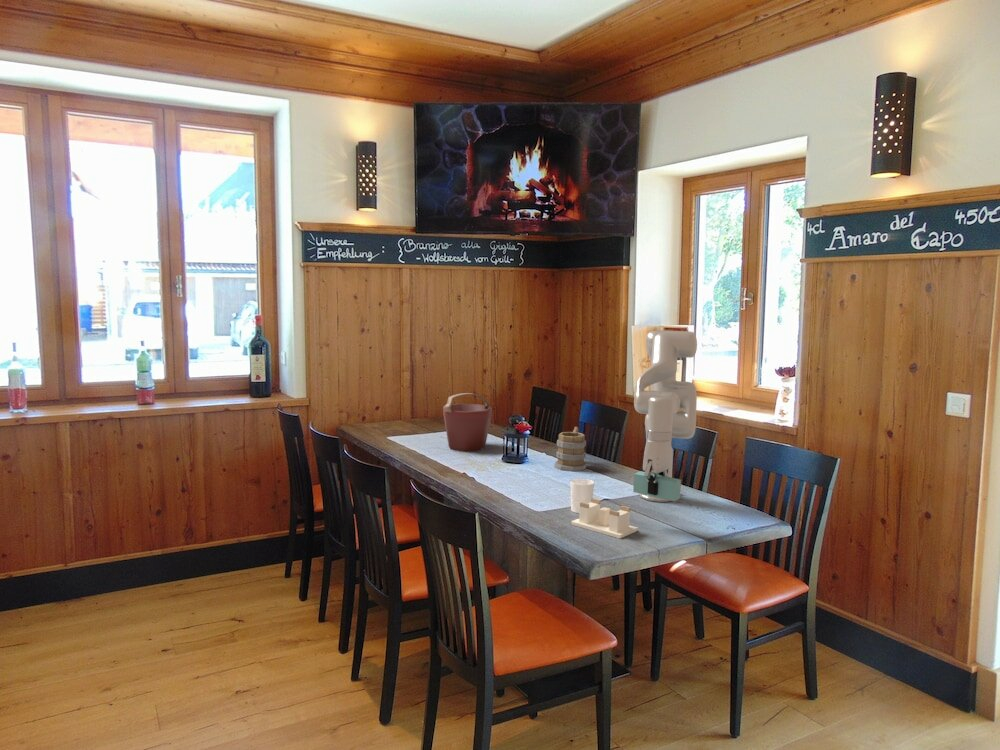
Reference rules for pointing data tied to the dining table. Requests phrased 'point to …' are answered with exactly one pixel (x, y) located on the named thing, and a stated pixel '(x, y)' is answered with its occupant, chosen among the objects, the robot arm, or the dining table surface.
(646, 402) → the robot arm
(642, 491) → the teal bar
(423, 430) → the dining table surface
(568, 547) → the dining table surface
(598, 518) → the stand
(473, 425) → the bucket
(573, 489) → the white cup
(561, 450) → the tankard
